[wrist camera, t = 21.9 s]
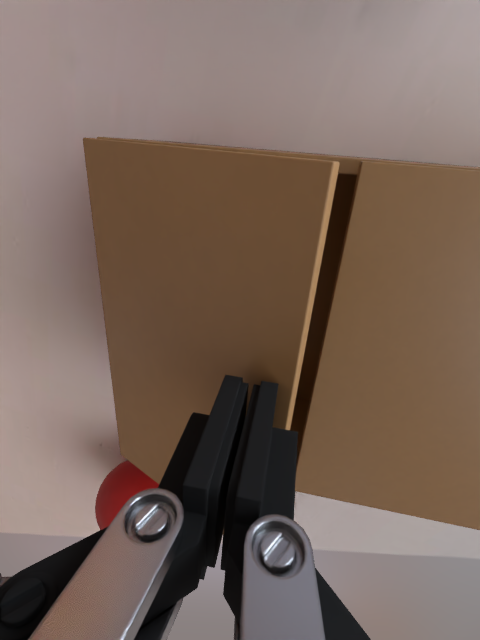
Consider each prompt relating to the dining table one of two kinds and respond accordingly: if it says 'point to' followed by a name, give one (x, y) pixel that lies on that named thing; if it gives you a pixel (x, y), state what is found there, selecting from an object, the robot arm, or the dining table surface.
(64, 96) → the dining table surface
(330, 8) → the dining table surface
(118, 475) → the apple
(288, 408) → the flap
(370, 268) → the cardboard box
